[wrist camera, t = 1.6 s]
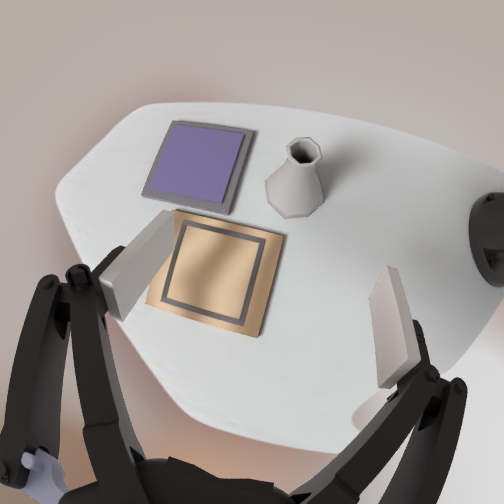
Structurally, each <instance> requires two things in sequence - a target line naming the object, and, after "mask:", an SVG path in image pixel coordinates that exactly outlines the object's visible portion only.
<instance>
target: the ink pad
mask: <svg viewBox="0 0 504 504" xmlns="http://www.w3.org/2000/svg"><path fill="white" fill-rule="evenodd" d="M253 135H254V134H253V131H249V130H244V129H238V128H231V127H225V126H218V125H210V124H202V123H193V122H184V121H172V123H171V125H170V127H169V129H168V131H167V133H166V136H165V138H164V140H163V142H162V144H161V147H160V149H159V151H158V154H157V156H156V158H155V161H154V163H153V166H152V168H151V170H150V173H149V175H148V178H147V181H146V183H145V186H144V188H143V191H142V194H141V195H142V196H143V197H146V198H151V199H155V200H160V201H165V202H170V203H174V204H179V205H184V206H188V207H193V208H197V209H202V210H206V211H211V212H215V213H220V214H224V215H229V212H230V208H231V205H232V202H233V198H234V195H235V192H236V188H237V185H238V182H239V179H240V175H241V172H242V169H243V166H244V163H245V159H246V156H247V153H248V150H249V147H250V144H251V141H252V138H253Z"/></svg>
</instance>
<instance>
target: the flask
mask: <svg viewBox="0 0 504 504" xmlns="http://www.w3.org/2000/svg"><path fill="white" fill-rule="evenodd" d="M286 148H287V153H288V158H287V160H286V161H285V163H284V165H282V166H281V167H280V168H279V169H278V170H277V171H276V172H274V173H273V174H272V175H271V176H270V177H268V178H267V179H266V180H265V185H266V193H267V201H268V203H269V204H270V205H271V206H272V207H273V208H274V209H275V210H276V211H277V212H278V213H279V214H280V215H281V216H282V217H283V218H284V219H285V218H296V217H306V216H309V215H310V214H311V213H312V212H313V211H314V210H315V209H316V208H317V207H318V206H319V205H321V204H322V203H323V202H324V200H323V194H322V189H321V184H320V180H319V177H318V175H317V173H316V167H315V166H316V163H317V162H319V161H320V160H321V159H322V155H321V151H320V147H319V145H318V144H317V143H315V142H314V141H313V140H312V139H311V138H310V137H305V138H295V139H294V140H293V141H292V142H290V143H289V144H288V145H287V146H286Z"/></svg>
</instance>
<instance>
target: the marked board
mask: <svg viewBox="0 0 504 504" xmlns="http://www.w3.org/2000/svg"><path fill="white" fill-rule="evenodd" d="M172 212H174V239H175V249H174V250H173V252H172V253H171V254H170V256H169V257H168V258H167V260H166V261H165V262H164V264H163V265H162V267H161V268H160V269H159V271H158V272H157V273H156V275H155V276H154V278H153V279H152V280H151V282H150V286H149V290H148V294H147V298H146V302H145V304H148V305H150V306H153V307H156V308H159V309H162V310H165V311H168V312H171V313H174V314H177V315H180V316H183V317H186V318H189V319H192V320H195V321H199V322H202V323H205V324H208V325H212V326H215V327H219V328H222V329H225V330H229V331H233V332H236V333H240V334H244V335H247V336H251V337H255V338H257V337H258V334H259V330H260V326H261V323H262V319H263V315H264V311H265V308H266V304H267V300H268V296H269V292H270V289H271V285H272V281H273V277H274V273H275V269H276V265H277V261H278V257H279V253H280V249H281V245H282V241H283V237H284V236H281V235H277V234H273V233H269V232H265V231H261V230H257V229H253V228H249V227H244V226H240V225H236V224H232V223H228V222H223V221H219V220H215V219H211V218H206V217H202V216H198V215H193V214H189V213H184V212H180V211H175V210H172Z"/></svg>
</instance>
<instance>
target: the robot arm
mask: <svg viewBox="0 0 504 504" xmlns="http://www.w3.org/2000/svg"><path fill="white" fill-rule="evenodd" d="M469 238H470V245H471V250H472V254H473V257H474V260H475V263H476V265H477V268H478V270H479V272H480V273H481V275H482V276H483V278H484V279H485V280H486V281H487V282H488V283H489V284H491V285H492V286H495V287H504V192H494V193H489V194H487V195H485V196H483V197H481V198H479V199H478V200H477V201H476V202H475V204H474V206H473V208H472V210H471V214H470V220H469ZM174 249H175V239H174V212H172V211H167V210H163V211H162V212H160V213H159V214H158V215H157V216H156V217H155V218H154V219H153V220H152V221H151V222H150V223H149V224H148V225H147V226H146V227H145V228H144V229H143V230H142V231H141V232H140V233H139V234H138V235H137V236H136V237H135V238H134V240H133V241H132V242H131V243H130V244H129V245H128V246H127V247H124V246H119V247H117V248H115V249H113V250H112V251H111V252H110V253H109V254H108V255H107V257H105V258H104V259H103V261H101V263H100V264H99V265H98V266H97V267H96V268H95V269H94V270H93V271H92V272H91V271H90V268H89V267H88V266H87V265H85V264H77V265H74V266H72V267H71V268H69V269H68V270H67V272H66V274H65V277H66V279H67V282H68V283H60V281H59V279H58V277H57V276H56V275H53V274H50V275H47V276H44V277H43V278H42V279H41V280H40V281H39V283H38V285H37V287H36V290H35V293H34V295H33V298H32V301H31V304H30V307H29V309H28V312H27V315H26V319H25V322H24V325H23V328H22V332H21V335H20V339H19V342H18V346H17V350H16V354H15V358H14V363H13V367H12V372H11V378H10V383H9V389H8V395H7V403H6V411H5V422H4V426H3V429H2V431H1V434H0V483H2V484H4V485H6V486H9V487H12V488H15V489H19V490H22V491H24V492H25V493H26V494H28V495H29V496H31V497H32V498H33V499H35V500H36V501H38V502H39V503H41V504H357V503H358V502H359V500H360V498H359V496H360V494H361V493H362V491H363V490H364V489H365V488H366V487H367V486H368V485H369V484H370V483H371V482H372V480H373V479H374V478H375V477H376V476H377V475H378V474H379V472H380V471H381V470H382V469H383V468H384V466H385V465H386V464H387V463H388V461H389V460H390V459H391V457H392V456H393V455H394V454H395V452H396V451H397V450H398V448H399V447H400V446H401V444H402V443H403V441H404V440H405V439H406V437H407V436H408V434H409V433H410V431H411V430H412V428H413V427H414V429H413V432H412V434H411V437H410V440H409V442H408V444H407V447H406V449H405V452H404V454H403V456H402V459H401V461H400V463H399V465H398V467H397V470H396V471H395V473H394V475H393V477H392V479H391V482H390V483H389V485H388V487H387V489H386V491H385V493H384V495H383V496H382V498H381V500H380V502H379V503H378V504H436V503H437V501H438V499H439V496H440V494H441V491H442V489H443V486H444V484H445V481H446V478H447V475H448V472H449V469H450V466H451V463H452V460H453V457H454V453H455V450H456V446H457V443H458V439H459V435H460V430H461V426H462V421H463V416H464V410H465V405H466V399H467V393H468V392H467V386H466V384H465V382H464V381H463V380H462V379H461V378H458V377H457V378H454V379H453V380H452V381H450V382H449V381H447V380H445V379H442V378H440V374H439V372H438V370H437V369H436V368H435V367H434V366H433V365H431V364H430V359H429V355H428V350H427V346H426V343H425V338H424V334H423V330H422V327H421V326H420V324H419V322H418V321H417V320H413V319H412V318H411V314H410V310H409V306H408V303H407V299H406V296H405V292H404V289H403V286H402V283H401V279H400V276H399V273H398V270H397V269H396V268H393V267H389V266H386V268H385V270H384V272H383V273H382V275H381V277H380V279H379V281H378V283H377V284H376V286H375V288H374V290H373V291H372V293H371V295H370V297H369V304H370V311H371V318H372V326H373V334H374V343H375V353H376V365H377V378H378V388H387V389H391V388H392V387H393V386H394V385H395V384H396V383H397V390H396V391H395V392H394V393H393V394H392V395H391V396H389V397H388V398H387V400H388V401H387V402H386V403H385V405H384V406H383V407H382V408H381V410H380V411H379V412H378V413H377V414H376V415H375V417H374V418H373V419H372V420H371V421H370V423H369V424H368V425H367V426H366V427H365V428H364V429H363V430H362V431H361V432H360V433H359V434H358V436H357V437H356V438H355V439H354V440H353V441H352V442H351V443H350V444H349V445H348V446H347V447H346V448H345V449H344V450H343V451H342V452H341V453H340V454H339V455H338V456H337V457H336V458H335V459H334V460H332V461H331V462H330V463H329V464H328V465H327V466H326V467H325V468H324V469H323V470H321V471H320V472H319V473H318V474H317V475H316V476H314V478H312V479H311V480H310V481H308V482H307V483H305V484H303V485H302V486H300V487H298V488H297V489H296V490H294V491H293V492H291V493H290V494H289V495H288V494H287V493H285V492H284V491H282V490H280V489H279V488H277V487H274V483H271V482H264V481H259V480H253V479H222V478H217V477H215V476H214V475H212V474H210V473H208V472H206V471H204V470H202V469H201V468H199V467H197V466H195V465H193V464H190V463H187V462H184V461H181V460H178V459H175V458H172V457H170V456H169V458H168V459H162V458H157V459H149V460H147V459H146V457H145V455H144V452H143V450H142V447H141V445H140V443H139V442H138V440H137V438H136V435H135V433H134V430H133V427H132V424H131V421H130V418H129V415H128V412H127V409H126V405H125V402H124V399H123V396H122V392H121V388H120V384H119V381H118V376H117V372H116V368H115V364H114V360H113V355H112V350H111V346H110V340H109V335H108V330H107V324H106V318H105V316H104V315H105V314H106V312H107V311H109V313H110V317H111V318H114V319H116V320H118V321H121V322H123V321H124V319H125V318H126V316H127V315H128V313H129V312H130V310H131V309H132V308H133V306H134V305H135V303H136V302H137V300H138V299H139V297H140V296H141V294H142V293H143V292H144V290H145V289H146V287H147V286H148V285H149V283H150V282H151V280H152V279H153V278H154V276H155V275H156V273H157V272H158V271H159V269H160V268H161V267H162V265H163V264H164V262H165V261H166V260H167V258H168V257H169V256H170V254H171V253H172V252H173V250H174ZM70 331H71V338H72V349H73V359H74V367H75V374H76V381H77V387H78V393H79V398H80V404H81V408H82V413H83V417H84V423H85V426H84V428H83V437H84V441H85V445H86V448H87V451H88V455H89V458H90V462H91V465H92V468H93V471H94V474H95V476H96V479H97V481H95V482H93V483H90V484H88V485H85V486H82V487H79V488H77V489H74V490H71V491H69V490H68V489H67V487H66V485H65V483H64V480H63V478H64V476H65V473H64V470H63V469H62V466H61V464H60V463H59V461H58V455H59V445H60V412H61V397H62V385H63V376H64V368H65V360H66V354H67V347H68V341H69V336H70ZM414 425H415V426H414Z"/></svg>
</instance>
